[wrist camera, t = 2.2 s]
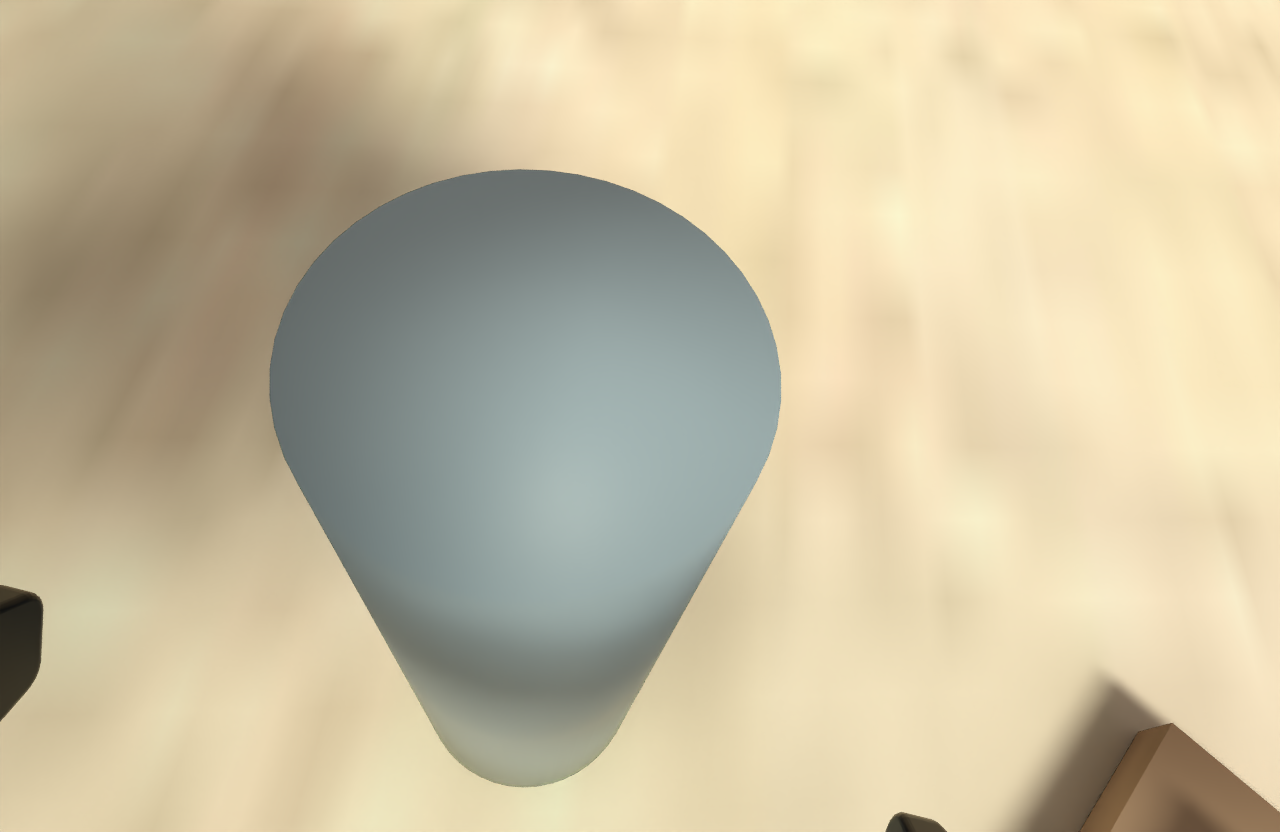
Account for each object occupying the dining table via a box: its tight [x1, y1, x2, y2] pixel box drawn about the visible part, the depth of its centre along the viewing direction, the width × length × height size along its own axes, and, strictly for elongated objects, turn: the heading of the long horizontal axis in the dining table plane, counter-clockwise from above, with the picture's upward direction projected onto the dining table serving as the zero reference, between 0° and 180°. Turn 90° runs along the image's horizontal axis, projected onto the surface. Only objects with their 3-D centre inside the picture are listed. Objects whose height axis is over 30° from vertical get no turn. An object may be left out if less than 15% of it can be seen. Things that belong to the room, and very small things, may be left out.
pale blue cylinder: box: [270, 169, 781, 787], centre depth 13 cm, size 4×4×13 cm
